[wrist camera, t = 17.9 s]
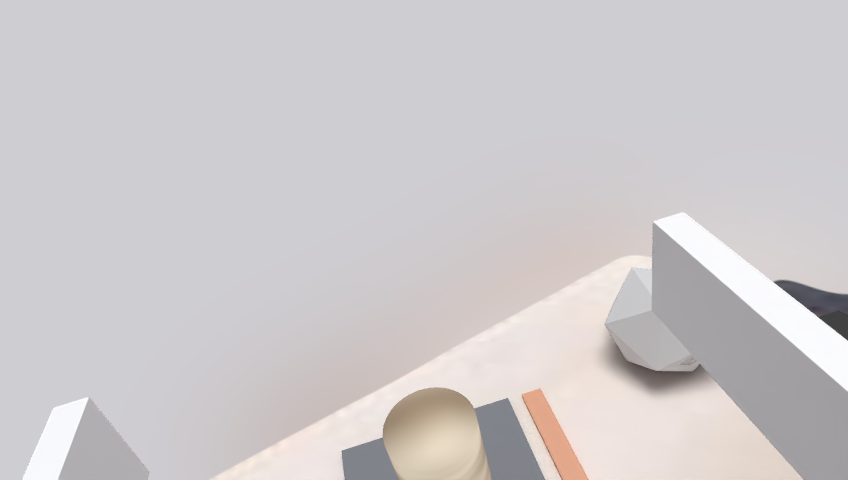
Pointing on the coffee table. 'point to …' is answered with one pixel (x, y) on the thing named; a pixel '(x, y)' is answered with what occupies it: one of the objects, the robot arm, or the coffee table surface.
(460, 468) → the beige banded cylinder
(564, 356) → the coffee table surface
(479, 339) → the coffee table surface
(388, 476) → the mat
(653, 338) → the die
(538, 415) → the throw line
